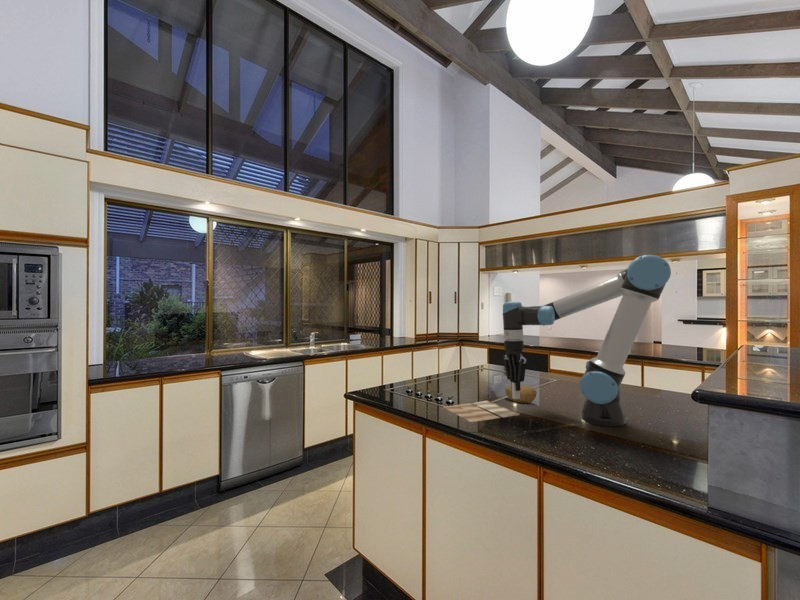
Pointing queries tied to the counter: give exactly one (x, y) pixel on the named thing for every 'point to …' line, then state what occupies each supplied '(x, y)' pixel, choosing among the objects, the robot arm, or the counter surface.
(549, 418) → the counter surface
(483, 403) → the board
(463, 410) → the laid boards
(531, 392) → the potato
